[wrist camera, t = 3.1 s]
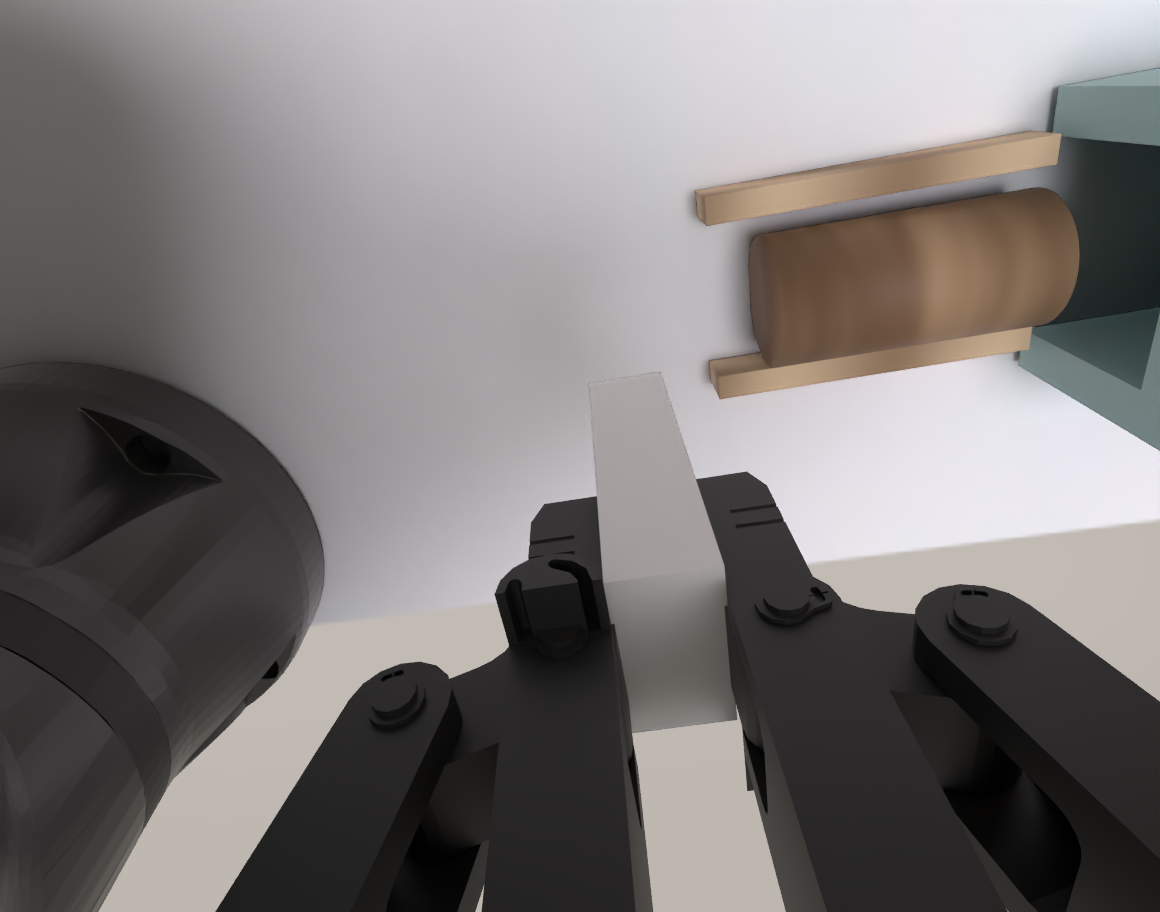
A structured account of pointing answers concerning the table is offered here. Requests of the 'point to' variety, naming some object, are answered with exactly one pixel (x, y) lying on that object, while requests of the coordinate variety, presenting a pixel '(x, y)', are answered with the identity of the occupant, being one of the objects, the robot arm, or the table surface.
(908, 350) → the rails
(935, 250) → the dowel
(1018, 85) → the table surface
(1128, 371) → the block
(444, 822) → the robot arm
